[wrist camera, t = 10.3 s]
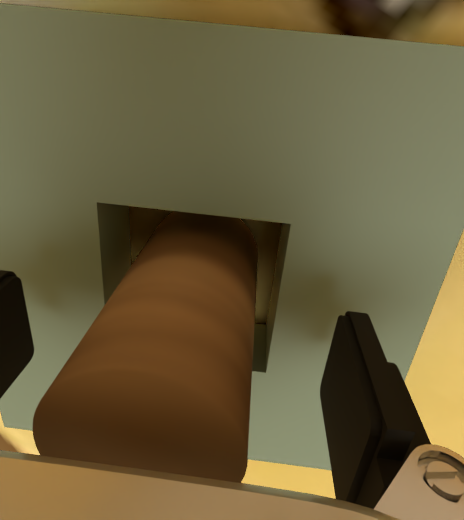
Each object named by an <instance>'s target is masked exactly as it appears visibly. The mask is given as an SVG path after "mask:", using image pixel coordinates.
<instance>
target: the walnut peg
mask: <svg viewBox="0 0 464 520" xmlns="http://www.w3.org/2000/svg"><path fill="white" fill-rule="evenodd" d="M257 264H258V251H257V246H256V242H255V239H254V237H253V235H252V233H251V231H250V230H249V229H248V227H247V226H246V225H245V224H244V223H243V222H242V221H241V220H240V219H239V218H233V217H224V216H215V215H206V214H197V213H188V212H179V211H174V212H172V213H171V214H169V215H168V216H167V217H166V218H165V219H164V220H163V221H162V222H161V223H160V224H159V226H158V227H157V229H156V230H155V232H154V233H153V234H152V236H151V237H150V239H149V240H148V242H147V243H146V245H145V246H144V248H143V249H142V251H141V252H140V254H139V255H138V257H137V258H136V260H135V261H134V263H133V264H132V266H131V267H130V269H129V270H128V271H127V273H126V274H125V276H124V277H123V279H122V280H121V282H120V283H119V285H118V286H117V288H116V289H115V291H114V292H113V294H112V295H111V297H110V298H109V300H108V301H107V303H106V304H105V306H104V307H103V309H102V310H101V311H100V313H99V314H98V316H97V317H96V319H95V320H94V322H93V323H92V325H91V326H90V328H89V329H88V331H87V332H86V334H85V335H84V337H83V338H82V340H81V341H80V343H79V344H78V346H77V347H76V348H75V350H74V351H73V353H72V354H71V356H70V357H69V359H68V360H67V362H66V363H65V365H64V366H63V368H62V369H61V371H60V372H59V374H58V375H57V377H56V378H55V380H54V381H53V383H52V384H51V385H50V387H49V388H48V390H47V391H46V393H45V394H44V396H43V397H42V399H41V400H40V402H39V404H38V406H37V408H36V410H35V414H34V417H33V427H32V429H33V436H34V440H35V444H36V447H37V449H38V451H39V453H40V455H41V456H48V457H55V458H63V459H70V460H78V461H85V462H93V463H100V464H107V465H115V466H122V467H130V468H137V469H144V470H152V471H159V472H166V473H173V474H180V475H187V476H194V477H201V478H208V479H215V480H223V481H230V482H237V483H241V481H242V479H243V477H244V475H245V472H246V468H247V460H248V441H249V421H250V401H251V382H252V362H253V343H254V323H255V303H256V284H257Z"/></svg>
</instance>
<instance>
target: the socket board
mask: <svg viewBox="0 0 464 520" xmlns="http://www.w3.org/2000/svg"><path fill="white" fill-rule="evenodd" d="M129 206H134V207H143V208H152V209H161V210H170V211H179V212H188V213H197V214H206V215H215V216H224V217H233V218H242V219H251V220H260V221H269V222H278V223H282V228H281V234H280V240H279V247H278V253H277V260H276V266H275V272H274V279H273V285H272V292H271V298H270V304H269V311H268V317H267V324H266V325H265V324H256V323H254V343H253V362H252V382H251V401H250V421H249V441H248V459H250V460H258V461H265V462H273V463H281V464H288V465H296V466H303V467H311V468H318V469H326V470H331V464H330V457H329V451H328V444H327V438H326V432H325V425H324V419H323V412H322V406H321V400H320V385H321V381H322V377H323V373H324V369H325V365H326V361H327V358H328V354H329V350H330V346H331V342H332V338H333V334H334V331H335V327H336V323H337V319H338V317H339V315H343V316H345V313H346V312H347V311H352V312H361V313H367V314H368V315H369V317H370V319H371V322H372V324H373V327H374V329H375V332H376V334H377V337H378V339H379V342H380V344H381V347H382V349H383V352H384V354H385V357H386V359H387V362H391V363H394V364H396V365H397V367H398V369H399V371H400V373H401V375H402V378H403V380H405V378H406V375H407V373H408V370H409V368H410V365H411V362H412V360H413V357H414V355H415V352H416V350H417V347H418V345H419V342H420V339H421V337H422V334H423V332H424V329H425V327H426V324H427V322H428V319H429V316H430V314H431V311H432V309H433V306H434V304H435V301H436V298H437V296H438V293H439V291H440V288H441V286H442V283H443V281H444V278H445V275H446V273H447V270H448V268H449V265H450V263H451V260H452V257H453V255H454V252H455V250H456V247H457V245H458V242H459V240H460V237H461V234H462V232H463V229H464V46H453V45H443V44H432V43H421V42H410V41H400V40H389V39H378V38H368V37H357V36H346V35H336V34H325V33H314V32H303V31H293V30H282V29H271V28H261V27H250V26H239V25H229V24H218V23H207V22H196V21H186V20H175V19H164V18H154V17H143V16H132V15H121V14H111V13H100V12H89V11H79V10H68V9H57V8H47V7H36V6H25V5H14V4H4V3H0V270H5V271H12V272H14V273H15V274H16V276H17V277H19V278H20V279H21V282H22V287H23V292H24V297H25V302H26V308H27V313H28V318H29V323H30V329H31V334H32V339H33V344H34V354H33V357H32V359H31V361H30V362H29V363H28V365H27V366H26V367H25V368H24V370H23V371H22V372H21V373H20V375H19V376H18V377H17V378H16V380H15V381H14V382H13V383H12V385H11V386H10V387H9V388H8V390H7V391H6V392H5V393H4V395H3V396H2V397H1V398H0V412H1V416H2V420H3V423H4V427H9V428H17V429H24V430H32V431H33V429H32V427H33V417H34V414H35V410H36V408H37V406H38V404H39V402H40V400H41V399H42V397H43V396H44V394H45V393H46V391H47V390H48V388H49V387H50V385H51V384H52V383H53V381H54V380H55V378H56V377H57V375H58V374H59V372H60V371H61V369H62V368H63V366H64V365H65V363H66V362H67V360H68V359H69V357H70V356H71V354H72V353H73V351H74V350H75V348H76V347H77V346H78V344H79V343H80V341H81V340H82V338H83V337H84V335H85V334H86V332H87V331H88V329H89V328H90V326H91V325H92V323H93V322H94V320H95V319H96V317H97V316H98V314H99V313H100V311H101V310H102V309H103V307H104V306H105V304H106V303H107V301H108V300H109V298H110V297H111V295H112V294H113V292H114V291H115V289H116V288H117V286H118V285H119V283H120V282H121V280H122V279H123V277H124V276H125V274H126V273H127V271H128V270H129V269H130V267H131V244H130V218H129Z"/></svg>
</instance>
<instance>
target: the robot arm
mask: <svg viewBox="0 0 464 520" xmlns="http://www.w3.org/2000/svg"><path fill="white" fill-rule="evenodd" d="M33 354H34V344H33V339H32V334H31V329H30V323H29V318H28V313H27V308H26V302H25V297H24V292H23V287H22V282H21V279H20V278H19V277H17V276H16V274H15V273H14V272H12V271H5V270H0V398H1V397H2V396H3V395H4V393H5V392H6V391H7V390H8V388H9V387H10V386H11V385H12V383H13V382H14V381H15V380H16V378H17V377H18V376H19V375H20V373H21V372H22V371H23V370H24V368H25V367H26V366H27V365H28V363H29V362H30V361H31V359H32V357H33ZM320 400H321V406H322V412H323V419H324V425H325V432H326V438H327V444H328V451H329V457H330V464H331V470H332V476H333V483H334V489H335V496H336V499H333V498H328V497H323V496H318V495H313V494H307V493H301V492H295V491H288V490H282V489H276V488H270V487H263V486H257V485H251V484H244V483H237V482H230V481H223V480H215V479H208V478H201V477H194V476H187V475H180V474H173V473H166V472H159V471H152V470H144V469H137V468H130V467H122V466H115V465H107V464H100V463H93V462H85V461H78V460H70V459H63V458H55V457H48V456H41V455H33V454H26V453H18V452H10V451H2V450H0V520H464V458H463V457H462V456H460V455H459V454H457V453H456V452H454V451H452V450H450V449H448V448H445V447H442V446H439V445H432V444H431V443H430V441H429V438H428V436H427V434H426V431H425V429H424V427H423V424H422V422H421V420H420V417H419V415H418V413H417V410H416V408H415V406H414V403H413V401H412V399H411V396H410V394H409V392H408V389H407V387H406V385H405V382H404V380H403V378H402V375H401V373H400V371H399V369H398V367H397V365H396V364H394V363H391V362H387V359H386V357H385V354H384V352H383V349H382V347H381V344H380V342H379V339H378V337H377V334H376V332H375V329H374V327H373V324H372V322H371V319H370V317H369V315H368V314H367V313H361V312H352V311H347V312H346V313H345V316H343V315H339V317H338V319H337V323H336V327H335V331H334V334H333V338H332V342H331V346H330V350H329V354H328V358H327V361H326V365H325V369H324V373H323V377H322V381H321V385H320Z"/></svg>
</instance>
